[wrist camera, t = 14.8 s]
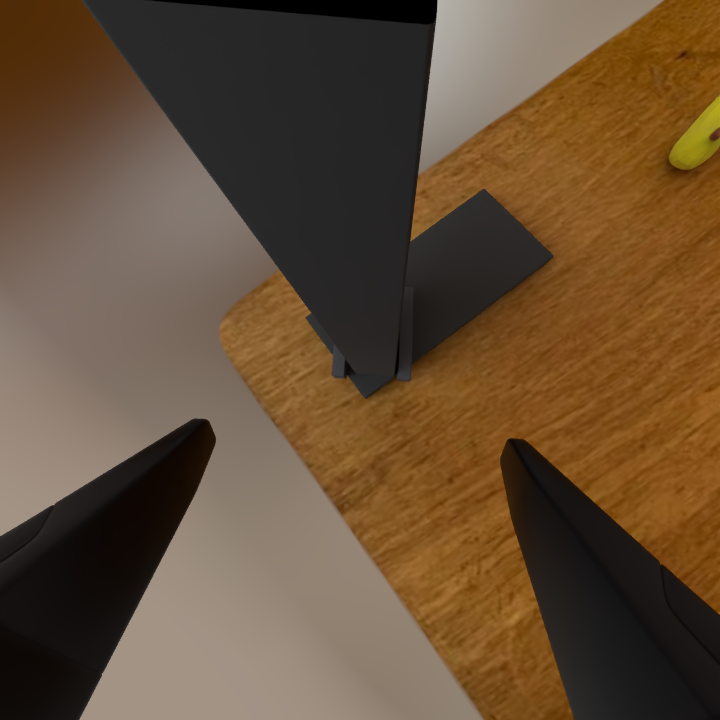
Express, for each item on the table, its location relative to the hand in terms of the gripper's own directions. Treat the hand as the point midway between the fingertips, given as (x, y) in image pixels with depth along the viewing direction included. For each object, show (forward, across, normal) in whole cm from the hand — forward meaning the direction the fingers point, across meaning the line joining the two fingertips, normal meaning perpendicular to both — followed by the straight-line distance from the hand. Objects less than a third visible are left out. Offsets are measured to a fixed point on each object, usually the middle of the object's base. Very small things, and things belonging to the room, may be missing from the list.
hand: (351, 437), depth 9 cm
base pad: (+14, -4, +1) cm, 15 cm away
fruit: (+23, -22, -8) cm, 33 cm away
